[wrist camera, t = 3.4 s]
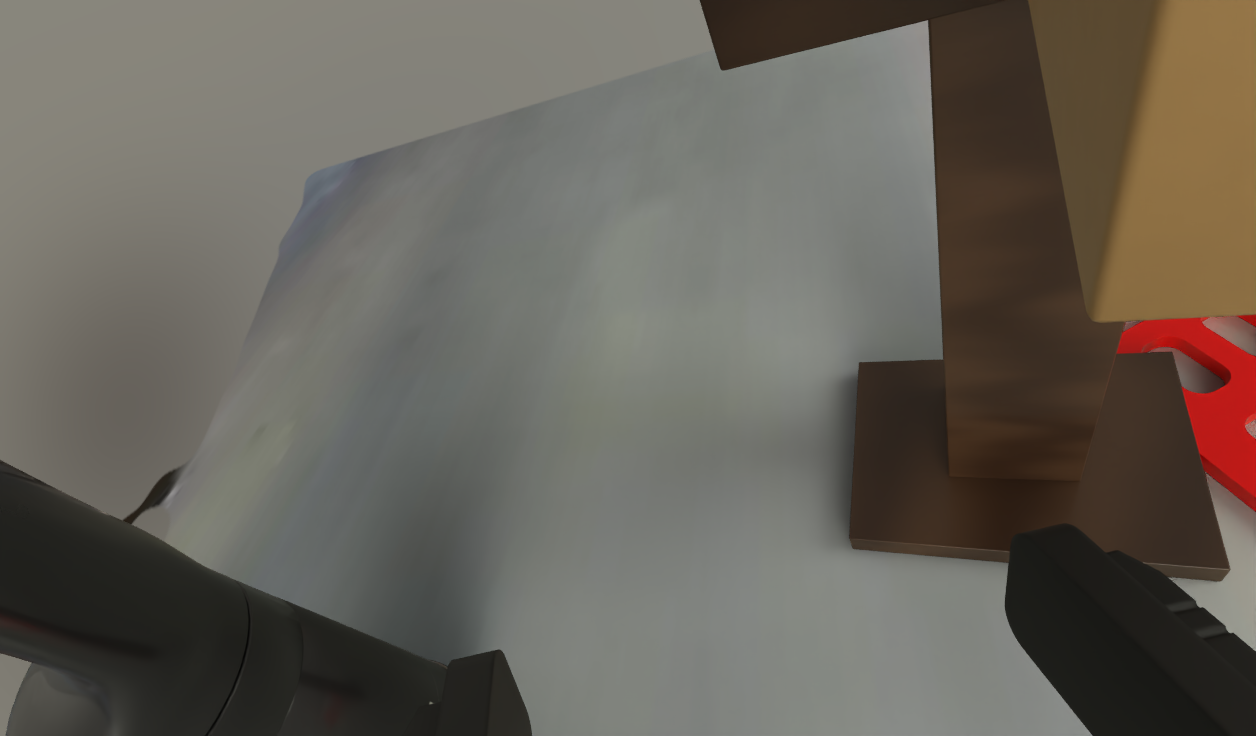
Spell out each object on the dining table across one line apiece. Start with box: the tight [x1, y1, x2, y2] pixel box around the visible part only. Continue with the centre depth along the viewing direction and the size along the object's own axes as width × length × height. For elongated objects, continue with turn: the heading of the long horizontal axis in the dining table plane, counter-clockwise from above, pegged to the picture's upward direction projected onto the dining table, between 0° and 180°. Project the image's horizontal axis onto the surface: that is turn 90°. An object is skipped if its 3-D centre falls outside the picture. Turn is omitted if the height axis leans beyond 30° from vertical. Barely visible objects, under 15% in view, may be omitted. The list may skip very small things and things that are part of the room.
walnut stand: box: [700, 0, 1230, 581], centre depth 24 cm, size 16×13×32 cm
